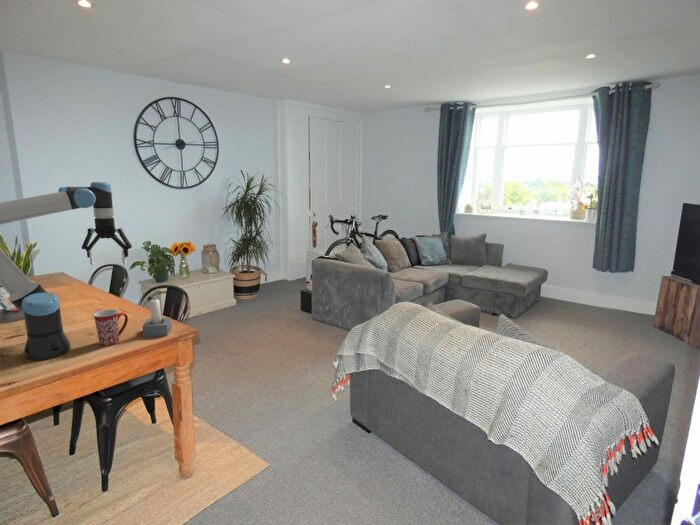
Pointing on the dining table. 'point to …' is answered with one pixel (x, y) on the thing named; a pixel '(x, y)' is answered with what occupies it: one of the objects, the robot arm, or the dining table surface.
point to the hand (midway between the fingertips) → (108, 264)
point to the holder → (157, 328)
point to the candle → (155, 311)
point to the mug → (108, 326)
